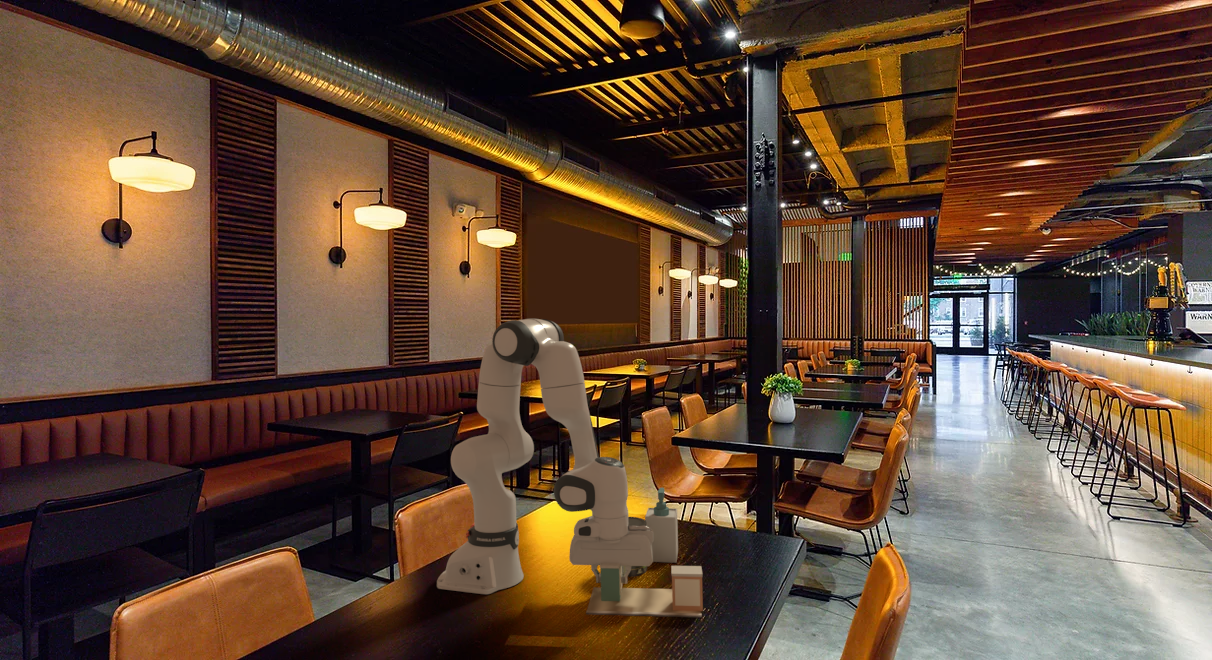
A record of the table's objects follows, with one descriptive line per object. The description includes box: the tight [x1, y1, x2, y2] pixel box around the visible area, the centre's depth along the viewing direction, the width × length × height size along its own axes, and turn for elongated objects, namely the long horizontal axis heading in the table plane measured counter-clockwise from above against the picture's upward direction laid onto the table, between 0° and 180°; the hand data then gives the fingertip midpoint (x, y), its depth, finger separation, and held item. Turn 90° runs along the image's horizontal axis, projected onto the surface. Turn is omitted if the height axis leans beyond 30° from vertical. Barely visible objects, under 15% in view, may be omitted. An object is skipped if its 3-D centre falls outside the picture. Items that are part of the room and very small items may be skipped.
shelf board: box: [585, 586, 703, 618], centre depth 139 cm, size 26×14×2 cm, turn 84°
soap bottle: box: [644, 487, 679, 564], centre depth 170 cm, size 9×9×19 cm
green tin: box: [599, 563, 623, 601], centre depth 143 cm, size 5×7×8 cm
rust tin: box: [670, 565, 704, 612], centre depth 136 cm, size 5×7×8 cm
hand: (611, 582), depth 143 cm, fingers closed on green tin, 5 cm apart
